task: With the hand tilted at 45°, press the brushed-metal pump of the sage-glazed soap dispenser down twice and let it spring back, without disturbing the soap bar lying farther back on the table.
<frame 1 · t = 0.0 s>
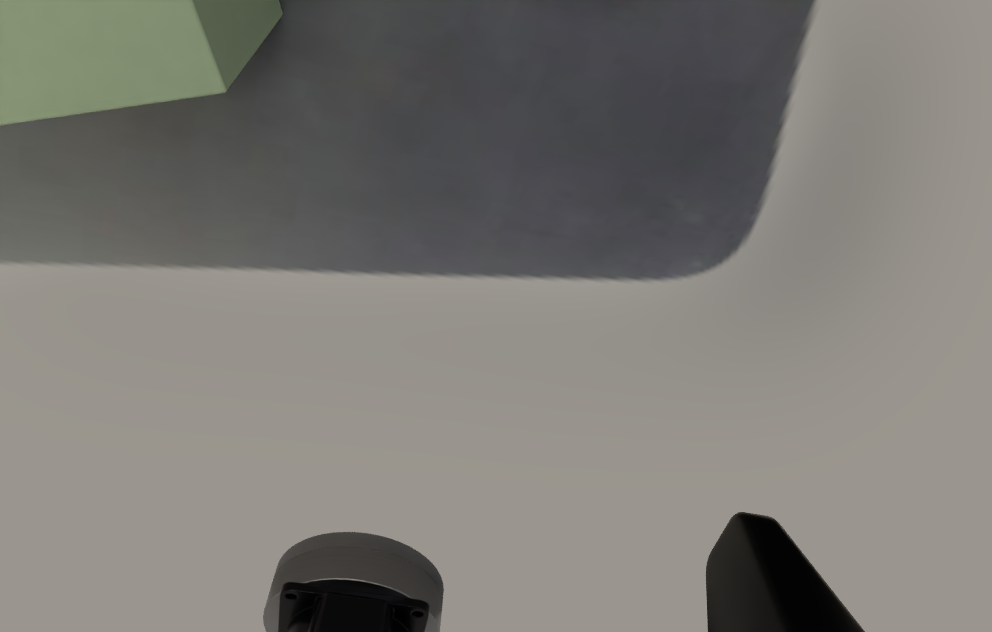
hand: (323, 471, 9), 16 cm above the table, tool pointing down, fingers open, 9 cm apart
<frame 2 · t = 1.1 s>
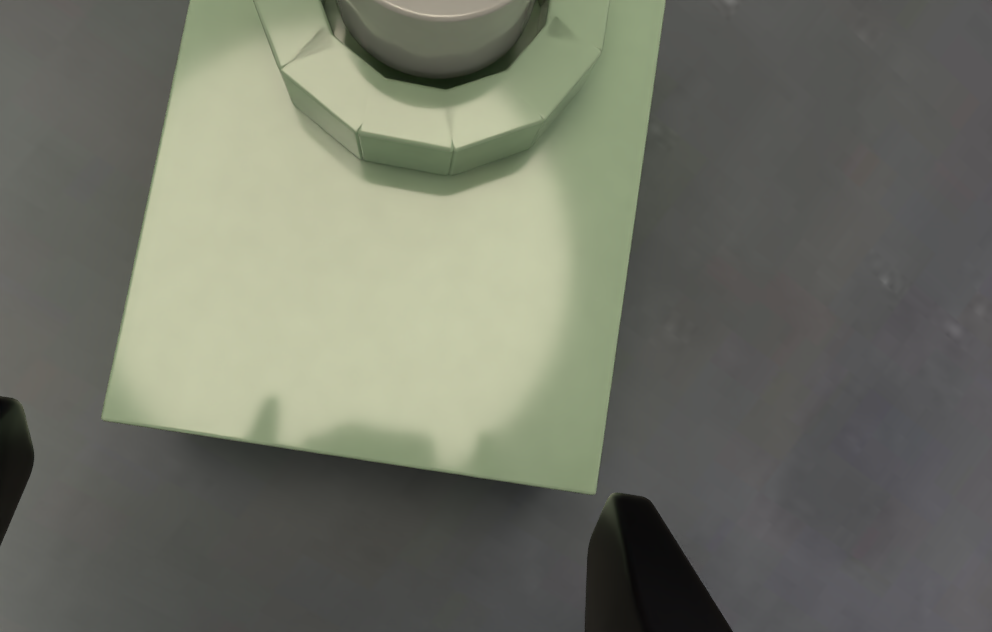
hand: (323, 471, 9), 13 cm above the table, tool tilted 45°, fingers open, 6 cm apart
soap dispenser: (406, 224, 22), on the table
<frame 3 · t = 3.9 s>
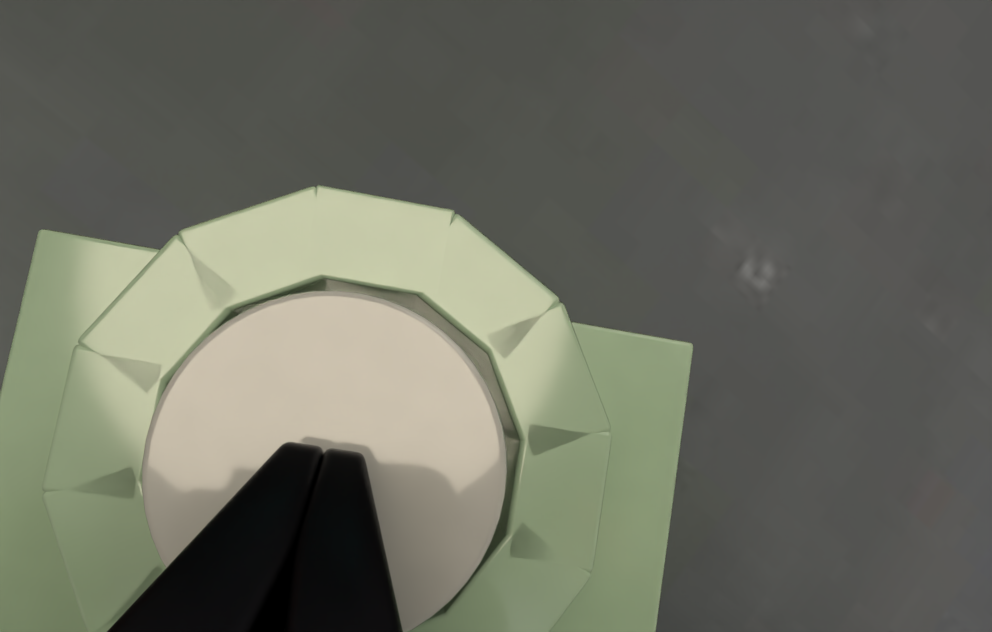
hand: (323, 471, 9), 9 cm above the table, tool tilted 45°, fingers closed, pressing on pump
soap dispenser: (335, 607, 17), on the table
pump: (337, 460, 10), point 7 cm above the table, slide at -0.8 cm, touching gripper
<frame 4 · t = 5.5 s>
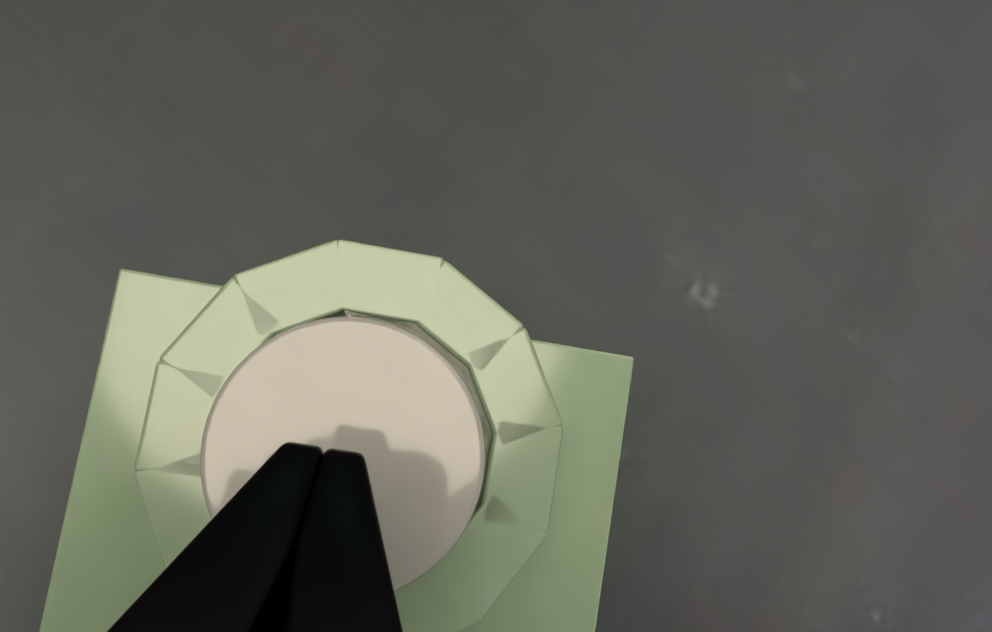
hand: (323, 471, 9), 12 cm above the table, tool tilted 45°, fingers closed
soap dispenser: (347, 574, 20), on the table
pump: (351, 451, 13), point 8 cm above the table, slide at 0.1 cm
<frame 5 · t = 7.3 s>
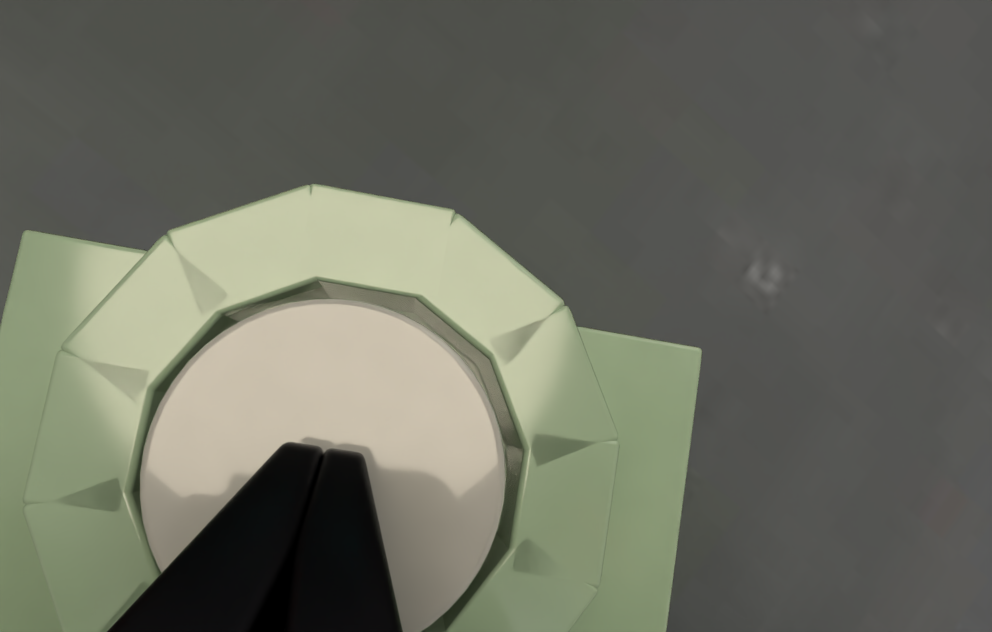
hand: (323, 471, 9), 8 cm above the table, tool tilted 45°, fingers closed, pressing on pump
soap dispenser: (331, 620, 16), on the table
pump: (336, 468, 10), point 7 cm above the table, slide at -1.2 cm, touching gripper
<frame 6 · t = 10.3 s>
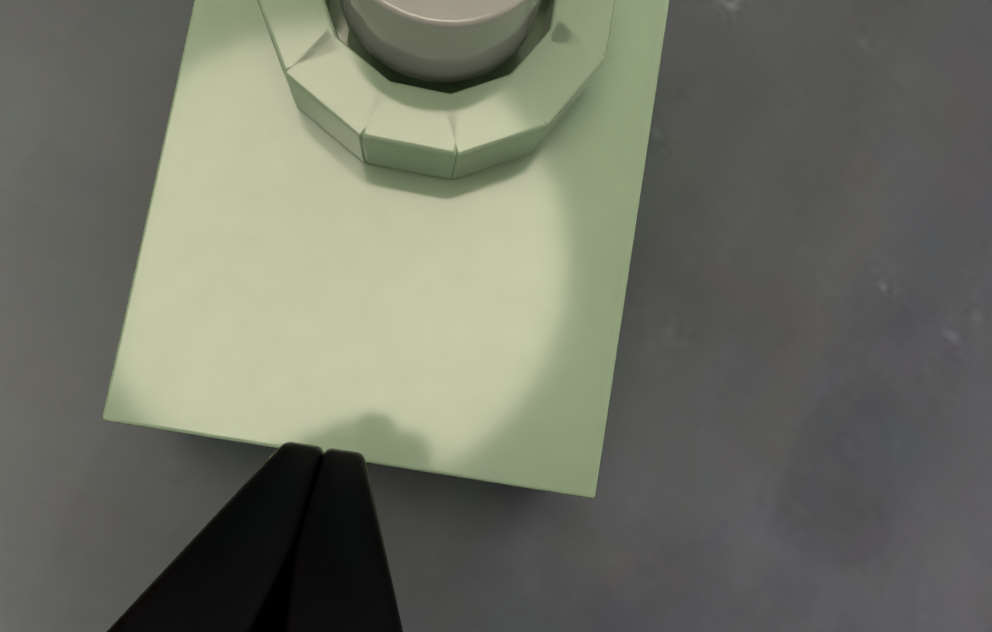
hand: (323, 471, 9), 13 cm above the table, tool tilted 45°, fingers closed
soap dispenser: (407, 226, 22), on the table
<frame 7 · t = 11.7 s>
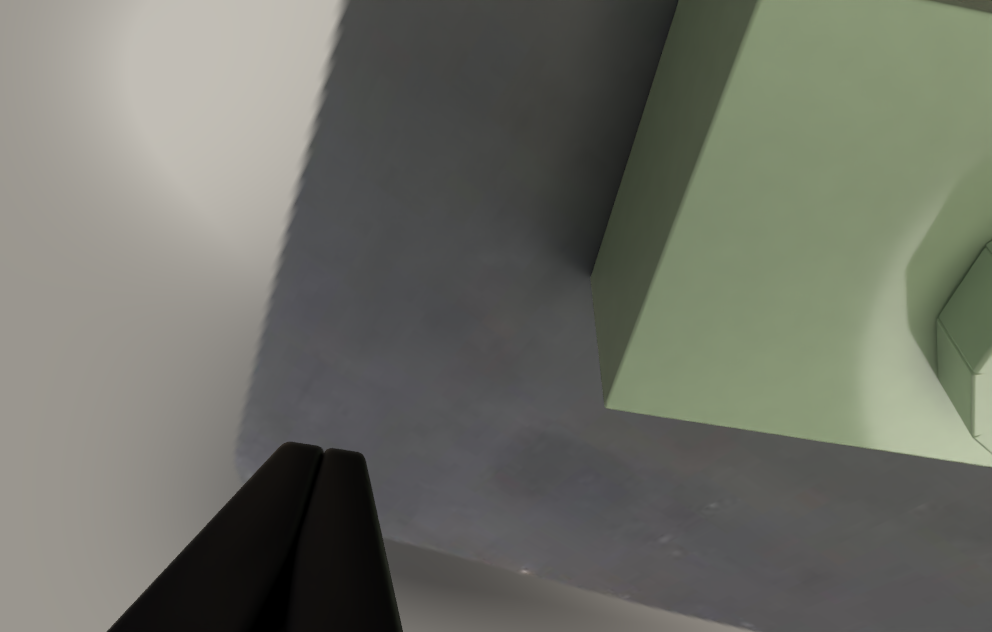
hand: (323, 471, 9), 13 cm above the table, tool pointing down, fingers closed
soap dispenser: (870, 160, 21), on the table
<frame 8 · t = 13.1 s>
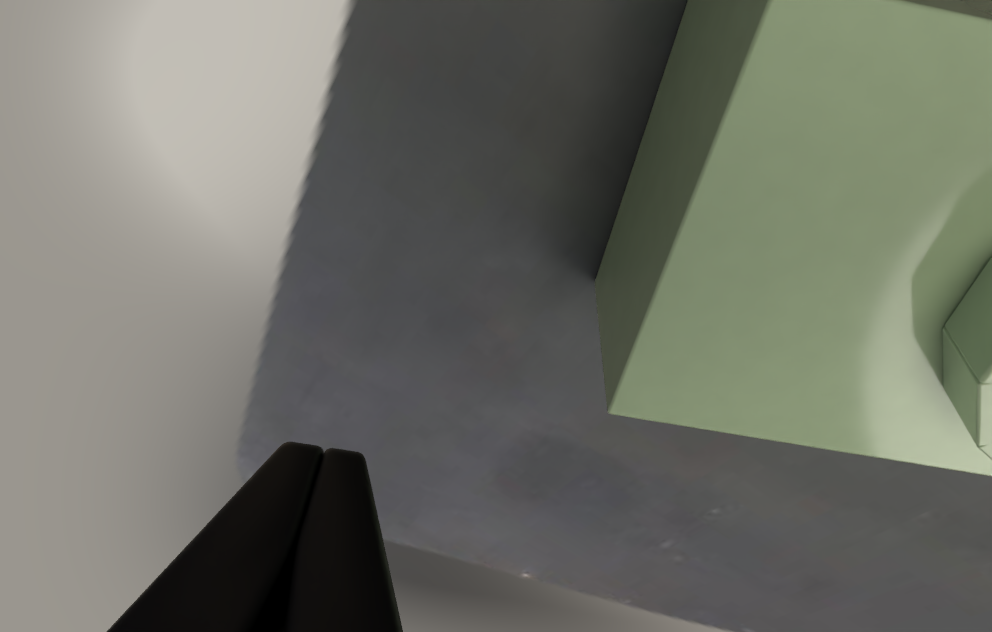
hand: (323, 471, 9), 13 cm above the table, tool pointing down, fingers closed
soap dispenser: (877, 167, 20), on the table
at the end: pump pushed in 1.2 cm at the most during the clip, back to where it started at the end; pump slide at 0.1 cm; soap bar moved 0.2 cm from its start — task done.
